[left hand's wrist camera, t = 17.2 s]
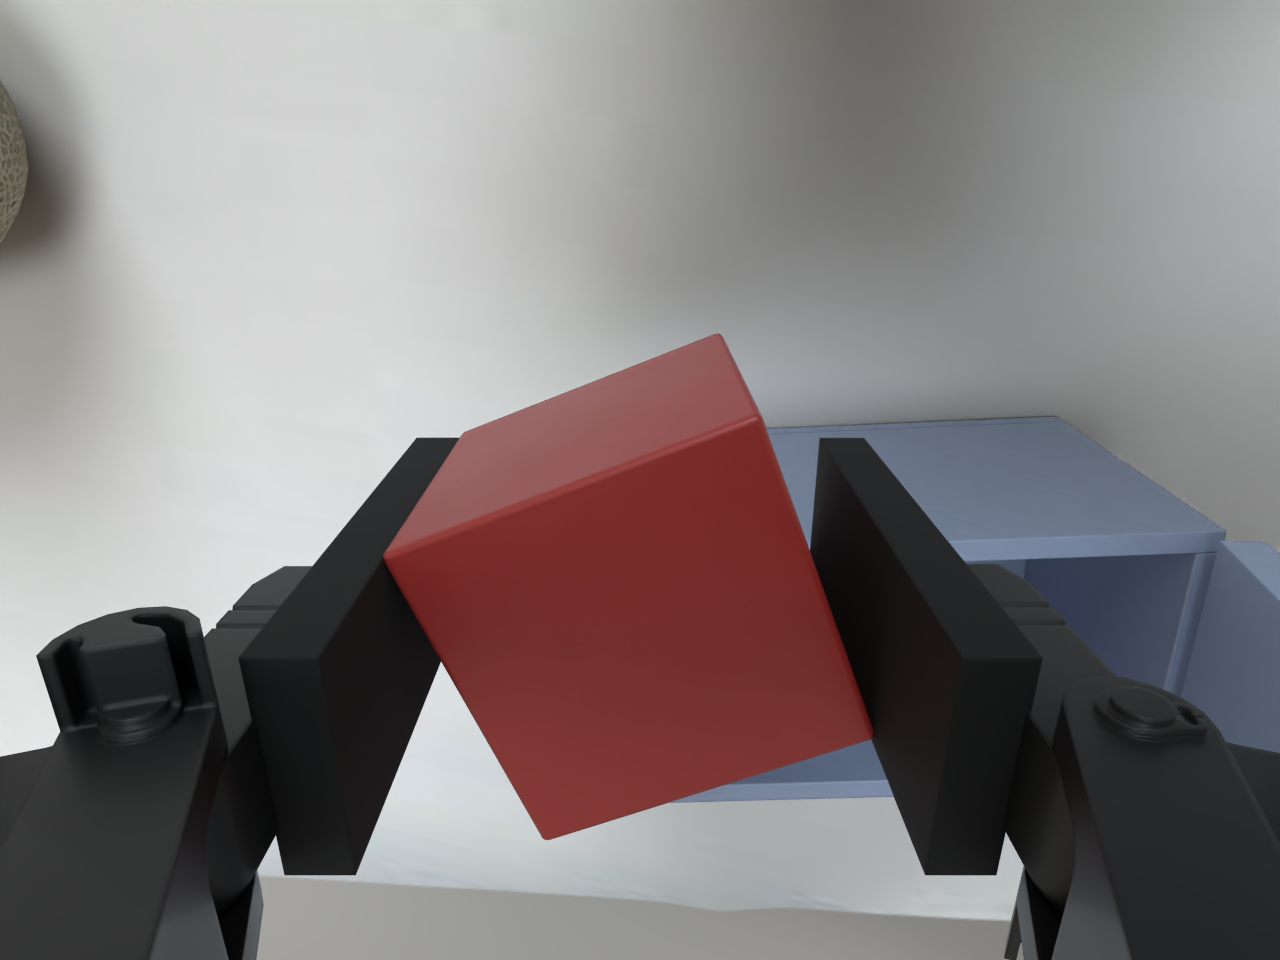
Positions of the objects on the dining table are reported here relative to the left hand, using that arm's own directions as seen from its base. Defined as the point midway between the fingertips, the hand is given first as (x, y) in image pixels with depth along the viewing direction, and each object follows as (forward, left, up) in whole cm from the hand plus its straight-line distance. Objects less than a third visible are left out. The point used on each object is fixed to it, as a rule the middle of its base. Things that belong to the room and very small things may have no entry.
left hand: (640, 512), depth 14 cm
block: (0, 0, 0) cm, 0 cm away
